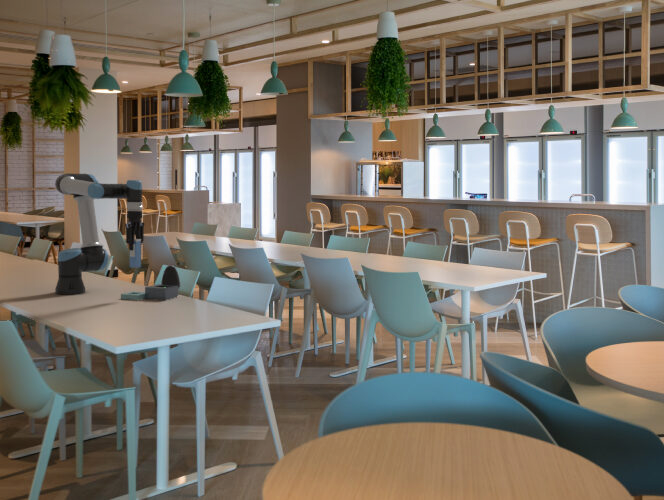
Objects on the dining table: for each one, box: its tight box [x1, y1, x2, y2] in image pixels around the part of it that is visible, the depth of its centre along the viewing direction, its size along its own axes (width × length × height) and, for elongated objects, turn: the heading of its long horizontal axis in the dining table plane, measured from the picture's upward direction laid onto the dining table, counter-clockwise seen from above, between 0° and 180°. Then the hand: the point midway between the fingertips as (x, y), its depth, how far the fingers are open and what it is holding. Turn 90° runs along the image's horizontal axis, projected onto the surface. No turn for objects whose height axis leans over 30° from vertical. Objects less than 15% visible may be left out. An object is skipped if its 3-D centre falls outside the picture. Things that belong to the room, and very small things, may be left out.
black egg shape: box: [160, 265, 181, 292], centre depth 372 cm, size 10×10×15 cm
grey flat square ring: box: [120, 291, 145, 301], centre depth 355 cm, size 10×10×2 cm
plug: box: [129, 238, 142, 269], centre depth 353 cm, size 4×4×14 cm
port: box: [144, 283, 179, 301], centre depth 357 cm, size 12×12×6 cm
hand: (135, 256), depth 353 cm, fingers closed on plug, 4 cm apart
